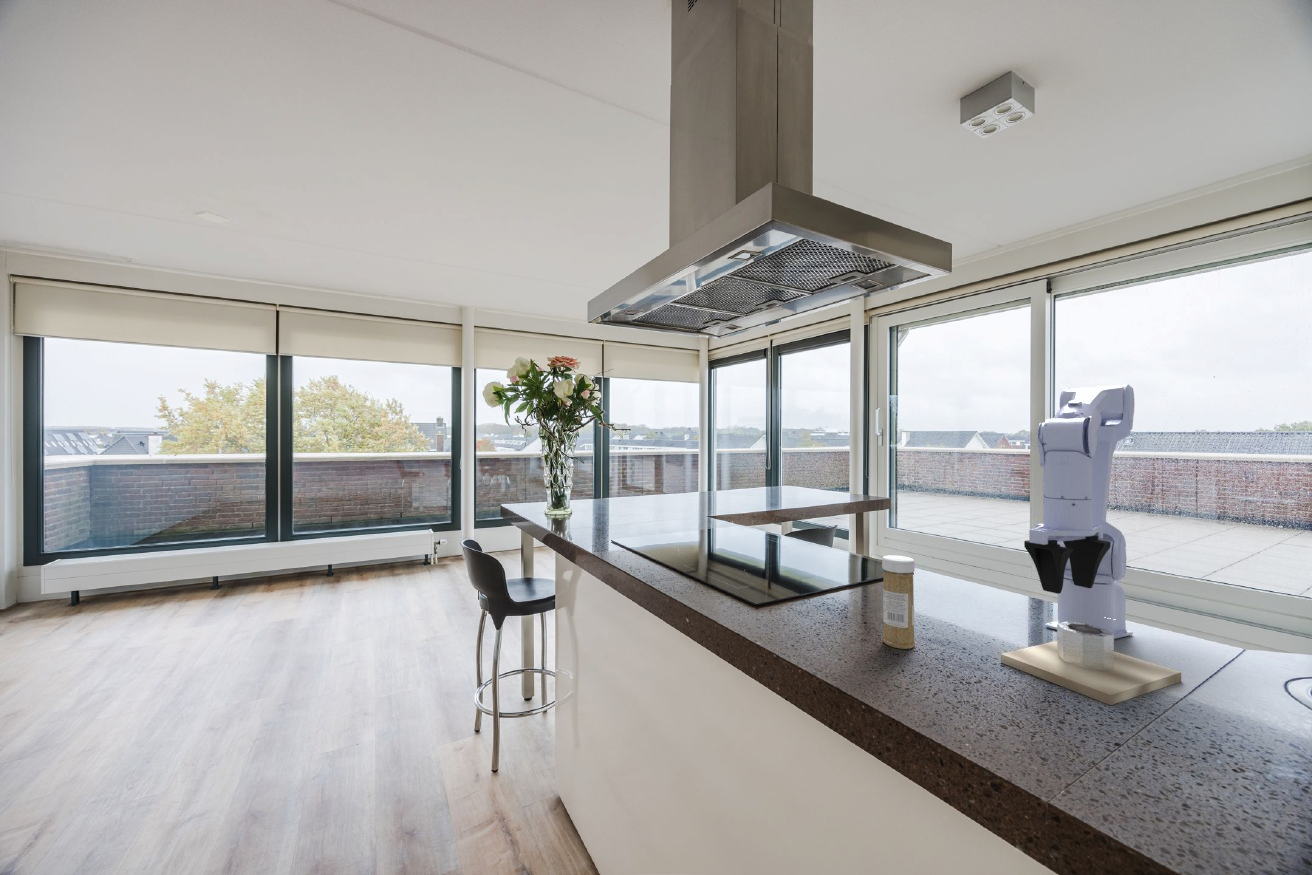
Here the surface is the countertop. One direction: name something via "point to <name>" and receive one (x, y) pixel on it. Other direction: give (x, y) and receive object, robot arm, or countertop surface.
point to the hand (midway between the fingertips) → (1067, 589)
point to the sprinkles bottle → (898, 601)
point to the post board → (1093, 673)
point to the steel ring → (1085, 646)
